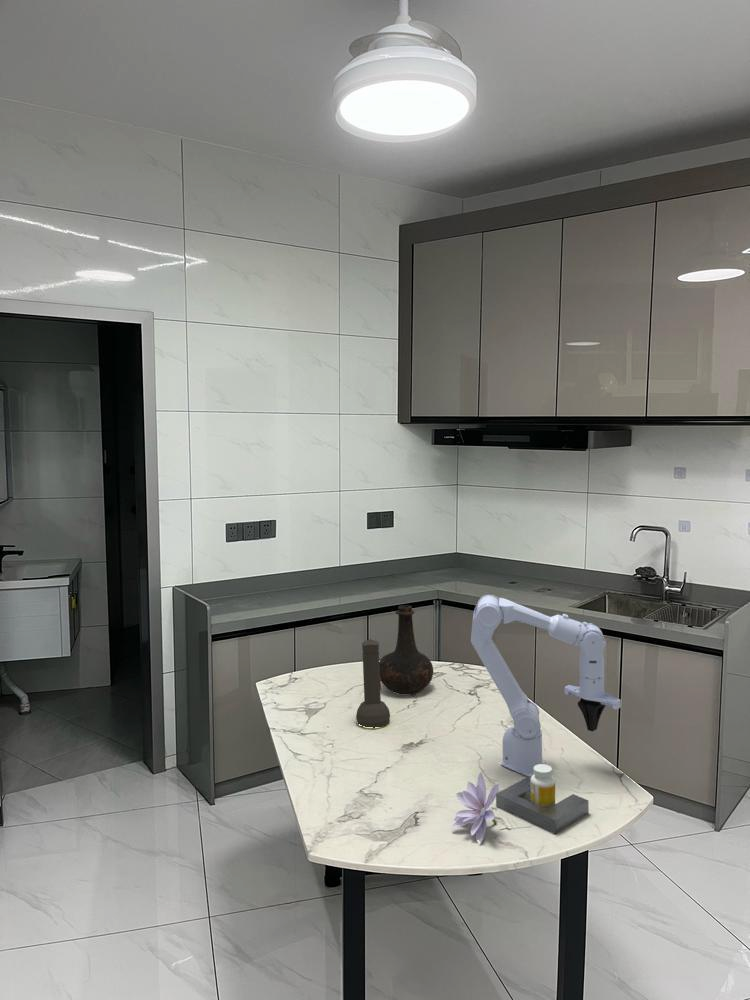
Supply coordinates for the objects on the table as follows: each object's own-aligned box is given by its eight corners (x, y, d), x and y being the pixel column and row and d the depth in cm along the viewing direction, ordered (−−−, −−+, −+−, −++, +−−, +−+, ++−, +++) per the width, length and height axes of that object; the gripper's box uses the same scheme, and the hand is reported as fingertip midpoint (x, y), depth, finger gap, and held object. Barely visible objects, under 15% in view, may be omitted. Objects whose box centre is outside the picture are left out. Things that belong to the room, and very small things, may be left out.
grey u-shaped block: (496, 806, 169) (496, 793, 168) (529, 788, 176) (529, 776, 176) (555, 834, 156) (555, 820, 156) (588, 813, 164) (588, 800, 164)
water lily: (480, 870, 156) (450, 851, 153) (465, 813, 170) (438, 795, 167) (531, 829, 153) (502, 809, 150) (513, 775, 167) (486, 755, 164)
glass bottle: (376, 682, 252) (373, 601, 249) (428, 679, 254) (426, 597, 251) (382, 702, 234) (379, 614, 232) (438, 697, 236) (436, 610, 233)
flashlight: (357, 730, 213) (391, 728, 214) (353, 645, 211) (388, 643, 211) (355, 717, 223) (388, 715, 223) (352, 635, 220) (385, 633, 221)
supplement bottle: (526, 810, 166) (525, 768, 165) (538, 800, 170) (537, 760, 169) (547, 818, 163) (547, 775, 162) (559, 808, 167) (559, 766, 166)
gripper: (627, 678, 179) (628, 733, 180) (576, 665, 190) (576, 716, 191) (611, 685, 174) (611, 742, 175) (559, 671, 185) (559, 724, 186)
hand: (592, 729), depth 183 cm, fingers closed
